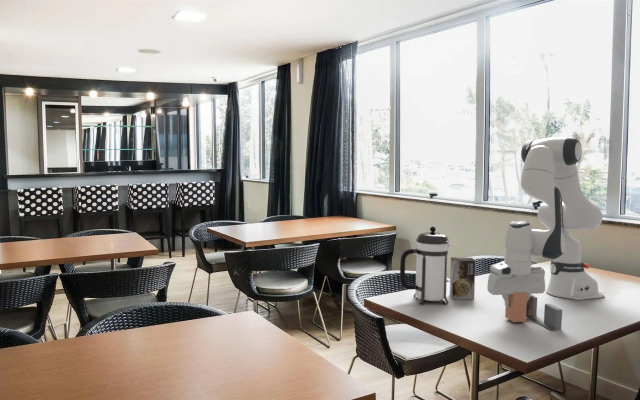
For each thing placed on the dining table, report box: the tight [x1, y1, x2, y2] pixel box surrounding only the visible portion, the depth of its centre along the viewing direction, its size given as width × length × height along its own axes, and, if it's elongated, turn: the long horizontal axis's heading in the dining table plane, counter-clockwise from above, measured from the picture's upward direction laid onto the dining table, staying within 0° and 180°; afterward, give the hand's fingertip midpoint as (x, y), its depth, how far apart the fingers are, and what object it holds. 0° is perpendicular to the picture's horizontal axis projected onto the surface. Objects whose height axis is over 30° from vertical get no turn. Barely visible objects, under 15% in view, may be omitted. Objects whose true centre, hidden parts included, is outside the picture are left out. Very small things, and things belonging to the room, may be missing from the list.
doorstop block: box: [504, 292, 527, 323], centre depth 184 cm, size 4×6×10 cm
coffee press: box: [399, 226, 452, 306], centre depth 207 cm, size 17×16×30 cm
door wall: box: [526, 294, 563, 331], centre depth 186 cm, size 4×22×7 cm, turn 9°
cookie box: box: [449, 256, 476, 300], centre depth 214 cm, size 9×6×16 cm
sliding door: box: [526, 294, 535, 317], centre depth 192 cm, size 9×9×7 cm
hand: (515, 306), depth 184 cm, fingers closed on doorstop block, 4 cm apart
